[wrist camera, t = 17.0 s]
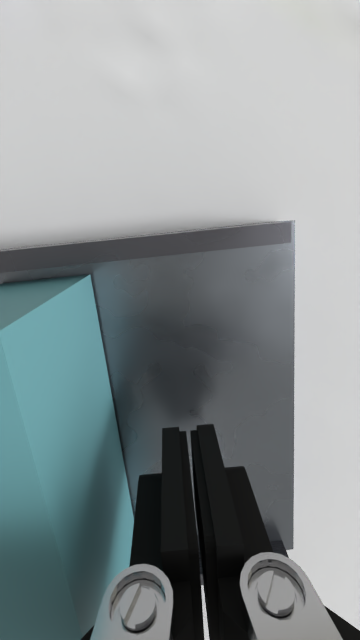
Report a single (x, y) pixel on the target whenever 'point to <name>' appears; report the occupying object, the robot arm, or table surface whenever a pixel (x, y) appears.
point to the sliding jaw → (57, 463)
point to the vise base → (195, 346)
